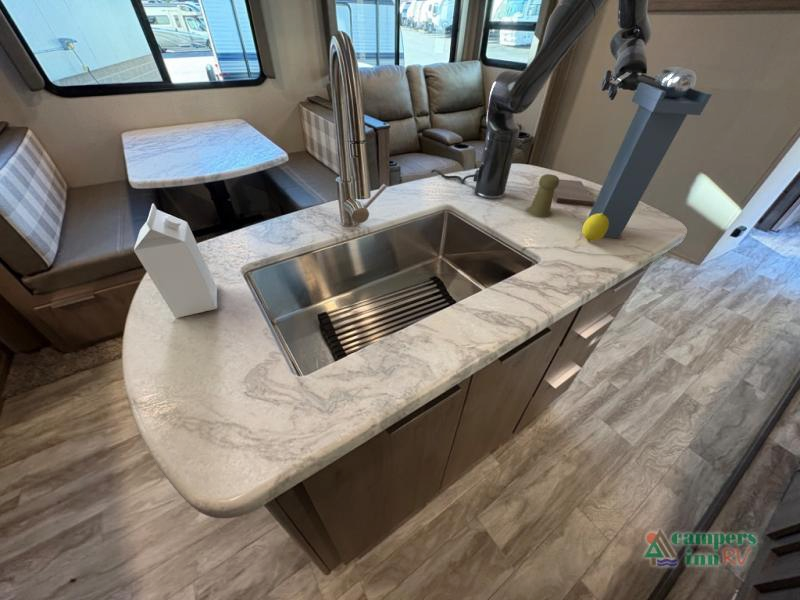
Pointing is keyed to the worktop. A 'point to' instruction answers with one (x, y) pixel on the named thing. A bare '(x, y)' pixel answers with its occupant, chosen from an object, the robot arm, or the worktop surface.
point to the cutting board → (572, 193)
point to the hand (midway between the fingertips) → (630, 99)
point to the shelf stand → (643, 151)
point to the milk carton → (175, 264)
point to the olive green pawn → (544, 196)
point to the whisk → (671, 81)
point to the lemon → (595, 227)
